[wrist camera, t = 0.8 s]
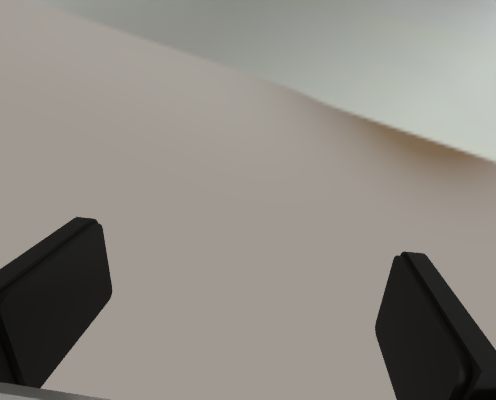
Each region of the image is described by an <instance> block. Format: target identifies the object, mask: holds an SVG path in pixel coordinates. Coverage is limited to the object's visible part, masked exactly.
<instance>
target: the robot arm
mask: <svg viewBox="0 0 496 400" xmlns="http://www.w3.org/2000/svg"><path fill="white" fill-rule="evenodd" d="M111 294H112V284H111V279H110V272H109V266H108V259H107V253H106V247H105V240H104V234H103V228H102V226H101V225H100V224H98V222H97V220H95V219H91V218H81V217H76V218H74V219H73V220H71V221H70V222H68V223H67V224H65V225H64V226H62V227H61V228H60V229H58V230H57V231H55V232H54V233H52V234H51V235H49V236H48V237H46V238H45V239H44V240H42V241H41V242H39V243H38V244H36V245H35V246H33V247H32V248H30V249H29V250H28V251H26V252H25V253H23V254H22V255H20V256H19V257H18V258H16V259H15V260H13V261H12V262H10V263H9V264H7V265H6V266H4V267H3V268H1V269H0V400H109V399H103V398H97V397H90V396H83V395H78V394H71V393H65V392H59V391H52V390H46V389H40V388H41V386H42V385H43V384H44V382H45V381H46V380H47V379H48V377H49V376H50V375H51V374H52V372H53V371H54V370H55V369H56V367H57V366H58V365H59V364H60V362H61V361H62V360H63V358H64V357H65V356H66V355H67V353H68V352H69V351H70V350H71V348H72V347H73V346H74V344H75V343H76V342H77V341H78V339H79V338H80V337H81V336H82V334H83V333H84V332H85V330H86V329H87V328H88V327H89V325H90V324H91V323H92V321H93V320H94V319H95V318H96V316H97V315H98V314H99V312H100V311H101V310H102V309H103V307H104V306H105V305H106V303H107V302H108V301H109V300H110V297H111ZM375 331H376V336H377V340H378V343H379V346H380V349H381V352H382V355H383V358H384V361H385V364H386V368H387V371H388V373H389V377H390V380H391V383H392V386H393V389H394V392H395V395H396V399H397V400H496V350H495V349H494V347H493V346H492V344H491V343H490V342H489V340H488V339H487V338H486V336H485V335H484V334H483V332H482V331H481V330H480V328H479V327H478V325H477V324H476V323H475V321H474V320H473V319H472V317H471V316H470V314H469V313H468V312H467V310H466V309H465V308H464V306H463V305H462V303H461V302H460V301H459V299H458V298H457V297H456V295H455V294H454V293H453V291H452V290H451V288H450V287H449V286H448V285H447V283H446V282H445V280H444V279H443V277H442V276H441V275H440V273H439V272H438V271H437V269H436V268H435V267H434V265H433V264H432V263H431V261H430V260H429V259H428V257H427V256H426V255H425V254H423V253H413V252H402V253H401V255H400V256H395V257H394V260H393V263H392V267H391V270H390V274H389V278H388V281H387V285H386V288H385V292H384V295H383V299H382V303H381V306H380V310H379V313H378V317H377V320H376V325H375Z"/></svg>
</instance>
